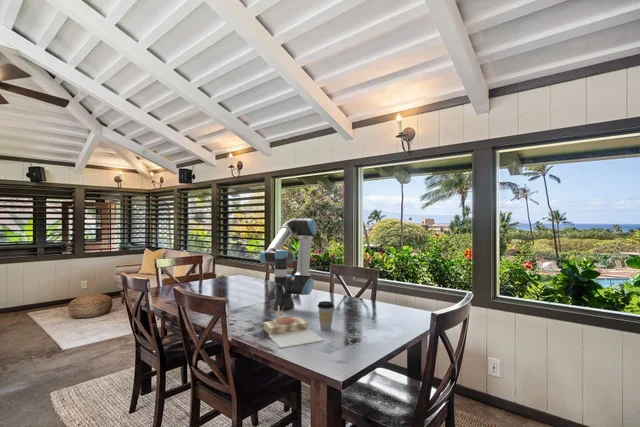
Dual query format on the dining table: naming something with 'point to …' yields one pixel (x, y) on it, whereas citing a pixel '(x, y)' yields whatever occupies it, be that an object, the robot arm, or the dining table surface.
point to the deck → (285, 326)
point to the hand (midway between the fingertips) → (280, 315)
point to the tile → (285, 320)
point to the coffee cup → (325, 315)
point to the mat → (295, 338)
